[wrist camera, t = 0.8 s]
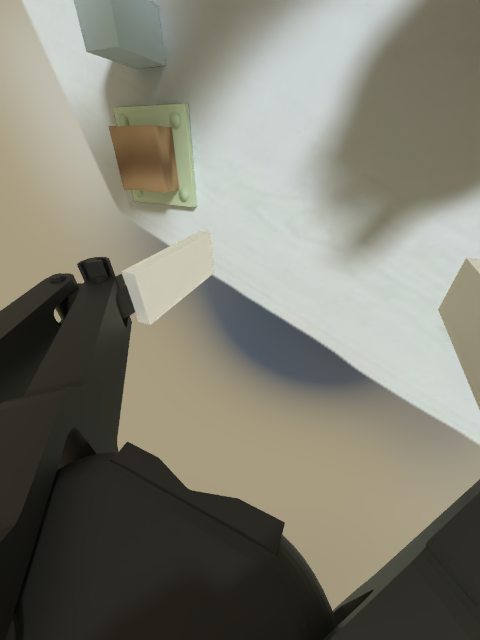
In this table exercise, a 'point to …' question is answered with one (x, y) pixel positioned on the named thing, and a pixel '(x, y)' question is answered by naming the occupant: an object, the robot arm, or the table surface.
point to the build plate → (180, 125)
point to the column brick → (122, 31)
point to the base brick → (146, 157)
